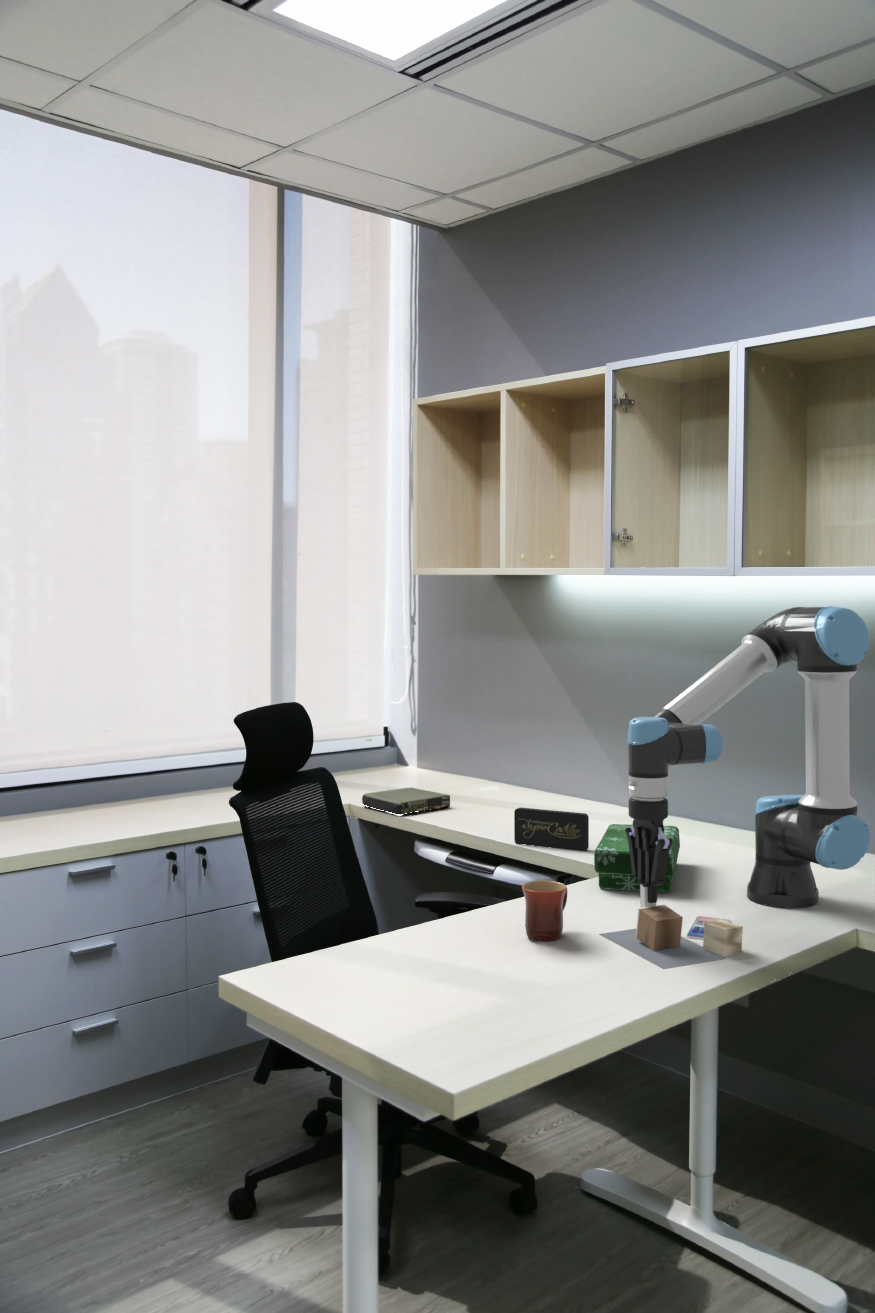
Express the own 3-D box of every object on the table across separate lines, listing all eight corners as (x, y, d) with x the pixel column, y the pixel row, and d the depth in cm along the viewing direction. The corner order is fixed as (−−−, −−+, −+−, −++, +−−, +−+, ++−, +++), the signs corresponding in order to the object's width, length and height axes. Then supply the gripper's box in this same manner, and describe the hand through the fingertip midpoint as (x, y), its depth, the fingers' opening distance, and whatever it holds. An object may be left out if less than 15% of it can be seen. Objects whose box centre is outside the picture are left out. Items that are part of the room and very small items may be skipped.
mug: (550, 947, 201) (550, 894, 200) (513, 939, 206) (513, 887, 206) (583, 932, 210) (583, 882, 210) (547, 924, 216) (546, 875, 215)
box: (674, 897, 236) (674, 853, 236) (592, 891, 241) (592, 848, 241) (680, 863, 267) (681, 824, 266) (608, 859, 272) (608, 821, 271)
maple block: (719, 945, 201) (721, 919, 201) (741, 952, 197) (742, 926, 197) (702, 949, 198) (704, 923, 198) (724, 956, 194) (726, 929, 194)
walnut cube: (664, 904, 204) (682, 917, 199) (661, 933, 205) (679, 946, 200) (638, 908, 202) (656, 921, 196) (635, 937, 203) (653, 951, 197)
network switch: (405, 819, 326) (405, 803, 326) (354, 810, 342) (354, 794, 342) (455, 808, 343) (455, 793, 343) (404, 800, 359) (404, 785, 359)
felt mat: (658, 927, 213) (657, 925, 213) (727, 960, 193) (727, 958, 193) (598, 935, 208) (598, 934, 208) (663, 970, 188) (663, 969, 188)
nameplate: (514, 844, 290) (514, 808, 289) (517, 842, 291) (517, 807, 291) (586, 852, 280) (586, 815, 279) (588, 850, 281) (588, 813, 281)
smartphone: (732, 919, 216) (722, 941, 202) (732, 924, 216) (722, 946, 203) (696, 915, 219) (683, 936, 205) (695, 919, 219) (683, 941, 205)
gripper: (613, 793, 208) (613, 911, 209) (651, 804, 196) (651, 929, 197) (645, 790, 210) (645, 906, 212) (684, 801, 198) (684, 924, 200)
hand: (648, 917), depth 204 cm, fingers closed
